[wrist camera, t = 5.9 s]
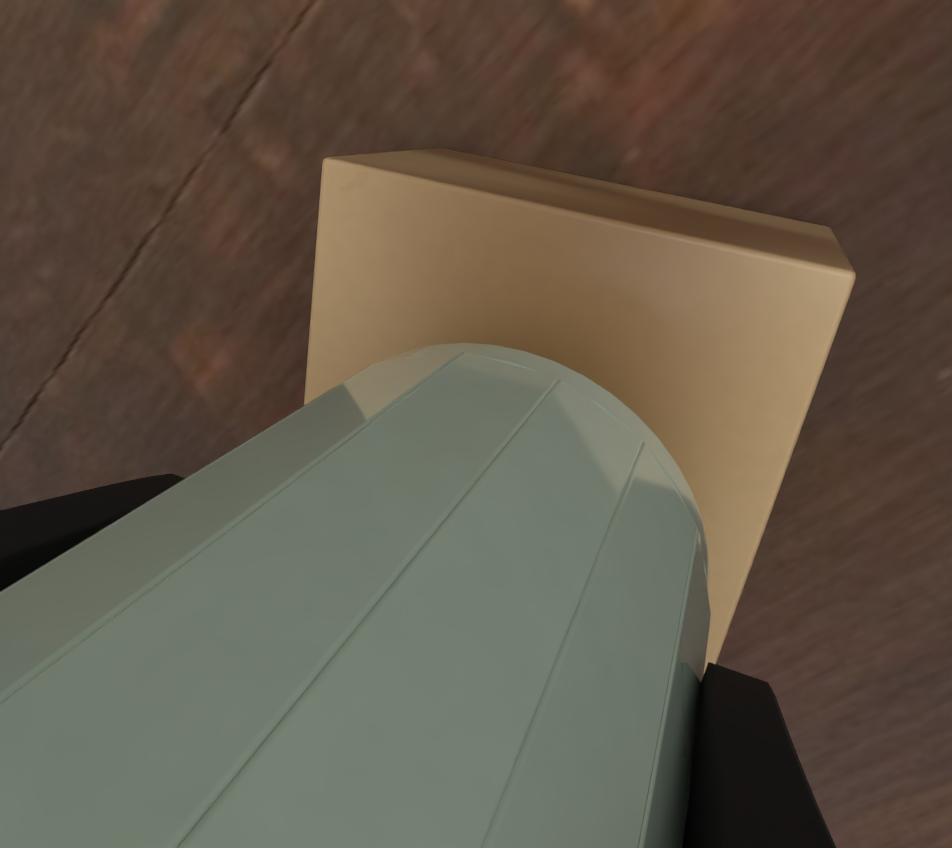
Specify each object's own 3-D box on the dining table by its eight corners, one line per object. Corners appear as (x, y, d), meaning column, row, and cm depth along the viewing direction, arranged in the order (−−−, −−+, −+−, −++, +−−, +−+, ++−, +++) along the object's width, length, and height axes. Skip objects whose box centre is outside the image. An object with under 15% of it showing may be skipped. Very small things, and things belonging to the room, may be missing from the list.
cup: (282, 647, 13) (-312, 1289, 6) (310, 292, 10) (-661, 655, 3) (643, 791, 11) (436, 1878, 4) (775, 416, 9) (792, 1524, 2)
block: (394, 476, 20) (288, 577, 16) (439, 146, 17) (319, 156, 12) (712, 578, 18) (694, 726, 14) (832, 227, 15) (858, 272, 10)
